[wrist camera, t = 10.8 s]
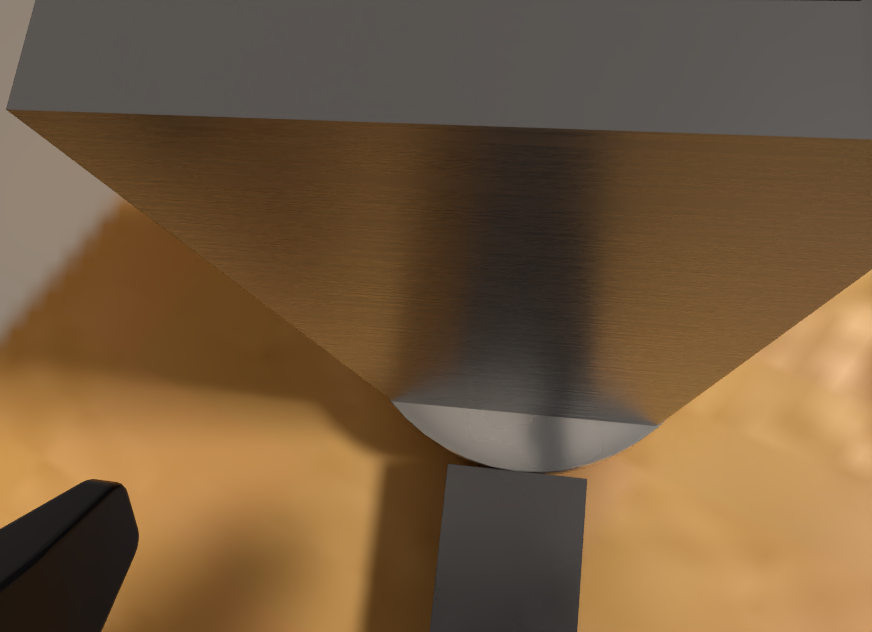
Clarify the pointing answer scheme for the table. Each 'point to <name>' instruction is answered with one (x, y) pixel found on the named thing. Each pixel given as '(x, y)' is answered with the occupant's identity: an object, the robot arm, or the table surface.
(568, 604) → the ratchet
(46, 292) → the table surface
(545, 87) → the socket
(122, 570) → the robot arm
